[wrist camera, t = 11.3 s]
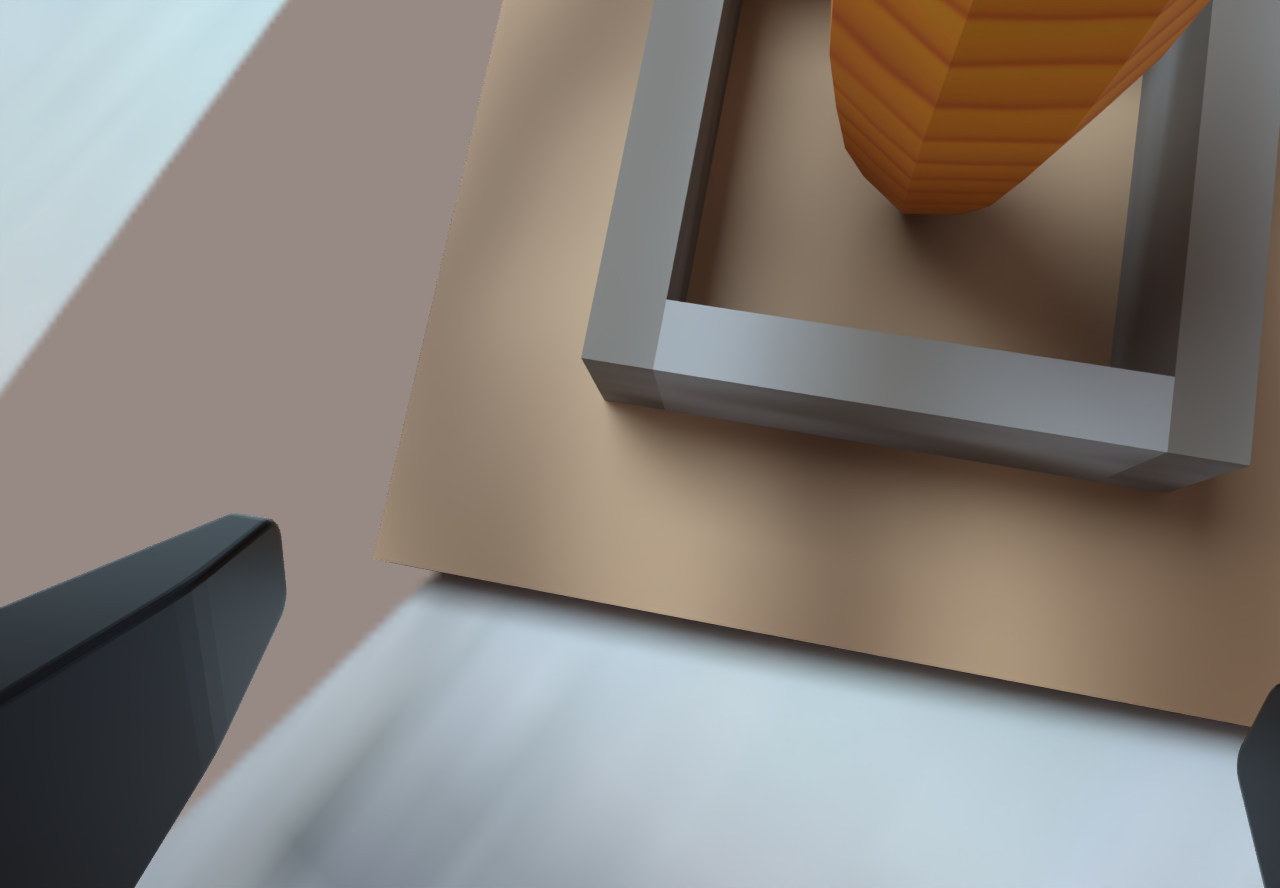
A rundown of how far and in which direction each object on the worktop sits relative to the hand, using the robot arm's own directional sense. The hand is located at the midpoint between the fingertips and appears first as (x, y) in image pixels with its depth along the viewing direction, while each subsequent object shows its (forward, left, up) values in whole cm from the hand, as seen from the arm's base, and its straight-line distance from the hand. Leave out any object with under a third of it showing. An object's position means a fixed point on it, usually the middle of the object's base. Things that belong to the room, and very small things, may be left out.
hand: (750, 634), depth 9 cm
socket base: (-3, -9, -10) cm, 14 cm away
